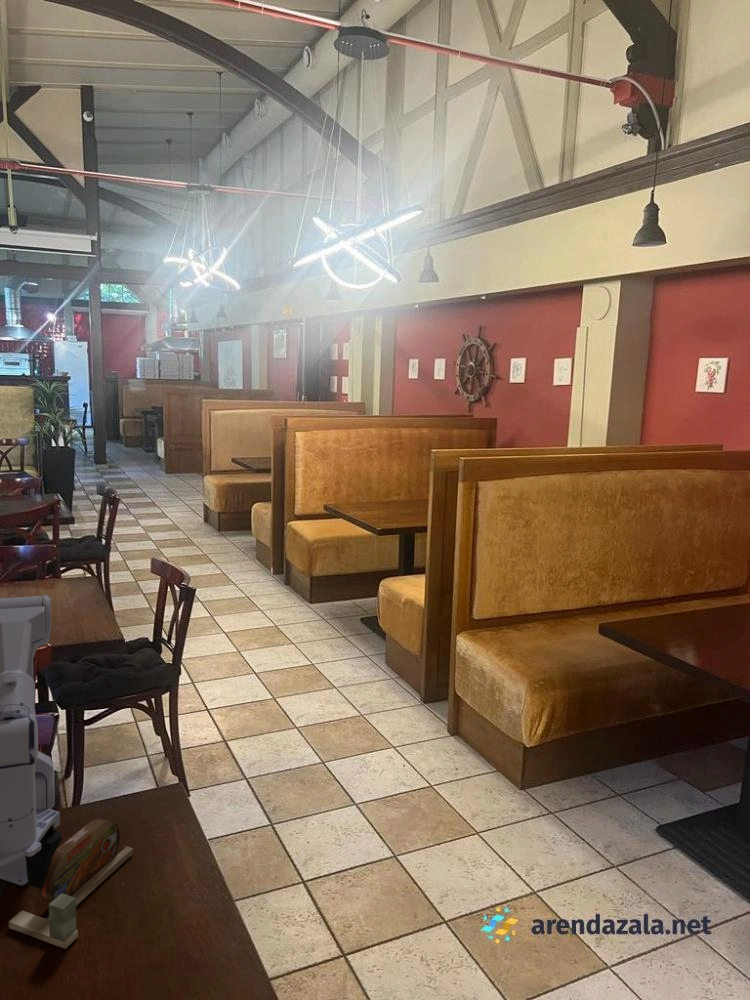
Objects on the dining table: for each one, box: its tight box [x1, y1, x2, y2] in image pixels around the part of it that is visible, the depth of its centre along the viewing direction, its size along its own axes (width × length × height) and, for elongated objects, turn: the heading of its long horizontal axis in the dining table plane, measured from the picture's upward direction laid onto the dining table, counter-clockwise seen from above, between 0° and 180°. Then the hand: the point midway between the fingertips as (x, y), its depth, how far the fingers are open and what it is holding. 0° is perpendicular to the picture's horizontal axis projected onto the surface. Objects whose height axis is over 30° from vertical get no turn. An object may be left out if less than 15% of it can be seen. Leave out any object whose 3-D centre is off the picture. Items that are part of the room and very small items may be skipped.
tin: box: [39, 818, 121, 904], centre depth 111 cm, size 15×3×8 cm, turn 161°
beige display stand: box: [8, 846, 134, 950], centre depth 109 cm, size 10×20×6 cm, turn 161°
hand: (14, 904), depth 94 cm, fingers open, 7 cm apart
